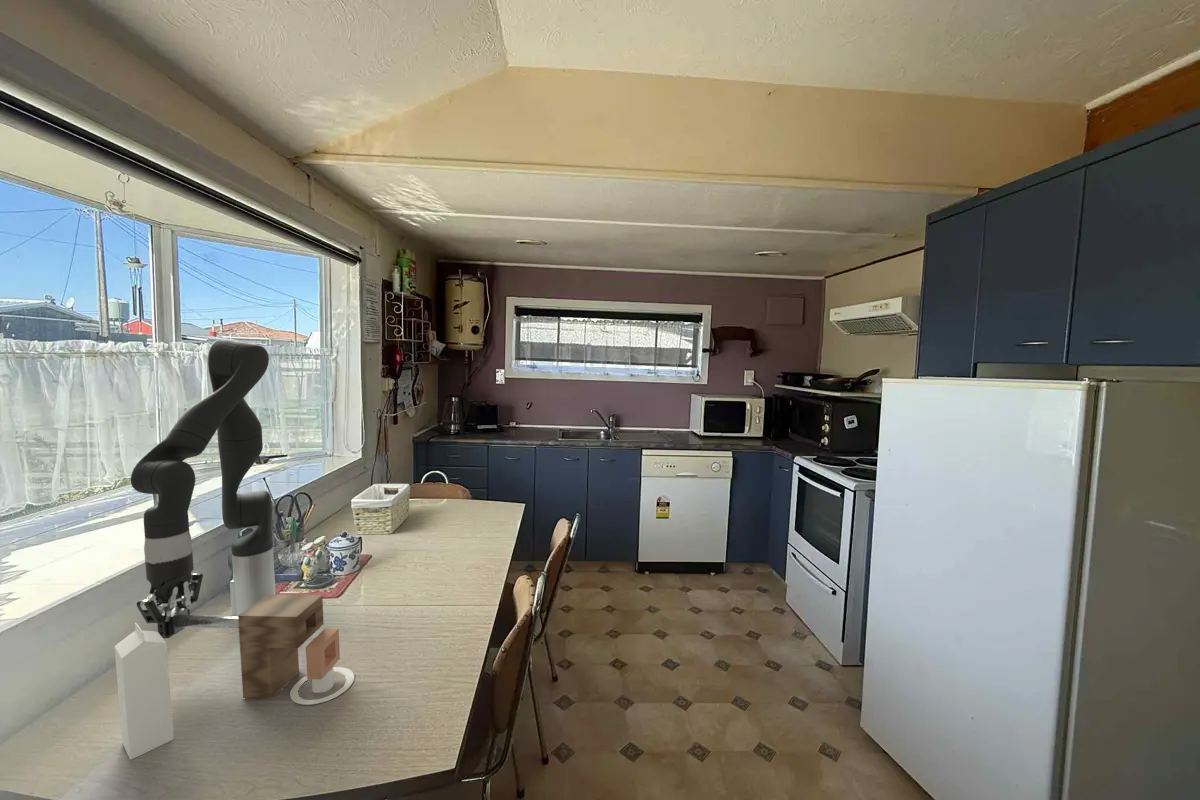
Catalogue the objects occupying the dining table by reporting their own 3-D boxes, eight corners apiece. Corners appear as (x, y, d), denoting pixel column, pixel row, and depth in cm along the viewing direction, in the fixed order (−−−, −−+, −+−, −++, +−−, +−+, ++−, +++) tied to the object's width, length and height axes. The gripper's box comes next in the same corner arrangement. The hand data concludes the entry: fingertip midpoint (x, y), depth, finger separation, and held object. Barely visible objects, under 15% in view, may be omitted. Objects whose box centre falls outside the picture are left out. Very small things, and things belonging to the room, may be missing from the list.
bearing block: (243, 699, 102) (238, 615, 100) (272, 671, 111) (268, 594, 109) (300, 700, 102) (296, 616, 100) (325, 672, 110) (322, 595, 109)
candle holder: (295, 678, 109) (294, 659, 109) (355, 665, 114) (355, 647, 113) (285, 714, 98) (284, 694, 98) (352, 698, 103) (351, 678, 102)
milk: (165, 725, 94) (157, 614, 93) (174, 740, 91) (166, 625, 89) (121, 744, 90) (112, 628, 88) (129, 761, 86) (120, 640, 84)
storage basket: (392, 536, 193) (391, 499, 191) (350, 536, 192) (348, 499, 190) (412, 516, 216) (411, 483, 215) (374, 516, 215) (373, 483, 214)
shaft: (160, 634, 104) (159, 616, 103) (175, 625, 107) (173, 607, 107) (297, 637, 103) (296, 618, 103) (307, 627, 107) (306, 610, 106)
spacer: (307, 679, 102) (305, 647, 102) (326, 658, 109) (325, 628, 109) (321, 679, 102) (319, 647, 102) (339, 658, 109) (338, 628, 109)
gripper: (180, 540, 111) (185, 614, 112) (118, 568, 97) (125, 651, 98) (213, 541, 111) (218, 614, 112) (156, 568, 97) (162, 652, 98)
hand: (174, 631), depth 105 cm, fingers closed on shaft, 3 cm apart
